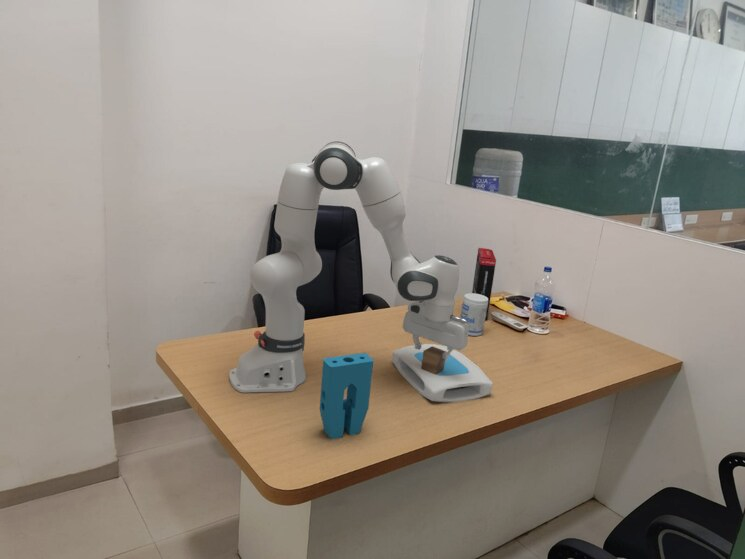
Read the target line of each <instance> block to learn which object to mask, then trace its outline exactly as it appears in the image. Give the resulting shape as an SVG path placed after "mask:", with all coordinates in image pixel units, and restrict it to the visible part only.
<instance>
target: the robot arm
mask: <svg viewBox="0 0 745 559" xmlns="http://www.w3.org/2000/svg"><path fill="white" fill-rule="evenodd" d="M356 156H357V155H356V153H355V151H354V149H353V148H352V147H351V146H350V145H348V144H347V143H345V142H342V141H331V142H329V143H327V144H326V145H324V146H323V147H321V149H319V151H318V153H317V154H316V155H315V156H314V158H313V159H312V160H311V162H309V163H308V162H295V163H292V164H291V163H290V165H288V166H287V167H286V169H285V170H284V174H283V176H282V180H281V183H280V186H279V191H278V197H277V203H276V209H275V217H274V218H275V219H274V225H273V227H274V228H273V229H274V230H275V233H276V234H278V236H279V237H280V241H281V248H280V251H279V252H276V253H272V254H269V255H266V256H264V257H263V258H261V259H259V260H258V261H256V262H255V263H254V264H253V265H252V267H251V269H250V273H249V274H250V275H249V278H250V282H251V285H252V287H253V289H254V290H255V291H256V292H258V293H259V294H260V295H261V297H262V299H263V302H264V307H265V330H264V332H263V333H261V331H260V330H256V331H254V333H253V335H254V338H255V339H256V340H257V344H256V345H254V346H253V347H251V348H250V349H249V350H247V351H246V352H244V353H243V354H242V355H241V356H240V357H239V359H238V363H237V366H236V367H234V368H231V369H230V371H229V375H228V379H229V380H228V381H229V383H230V385H231V386H232V388H233V389H234V390H236V391H238V392H240V393H246V394H247V393H274V392H275V393H276V392H277V393H278V392H279V393H280V392H281V393H282V392H293V391H295V390H296V388H297V387H298V386H300V385H301V384H303V383H304V382H305V381H306V379H307V375H306V370H305V365H304V364H305V363H304V351H305V344H306V343H305V341H306V339H305V336H306V335H305V332H304V331H305V330H304V328H305V313H306V312H305V311H306V310H305V308H304V305H302V303H300V302H299V301H298V299H297V297H298V296H297V289H298V287H301V286H304V285H306V284H309V283H310V282H312V281H313V280H314V279H315V278H317V276H318V275H320V274H321V271H322V269H323V260H322V257H321V255H320V254H319V252H318V251H317V248H316V243H315V229H316V223H317V218H318V217H317V216H318V211H319V205H320V197H321V194H322V192H323V190H324V189H328V190H332V191H333V190H334V191H340V190H355V191H356V193H357V195H358V198H359V200H360V203H361V206H362V208H363V210H364V213H365V215H366V217H367V219H368V220H369V222H370V224H371V226H372V227H373V228H374V229H375V230H377V231H378V232H379V234H380V235H381V237H382V239H383V241H384V244H385V247H386V249H387V250H386V251H387V252H388V255H389V258H390V270H389V272H390V274H389V275H390V279H391V280H392V282H393V284H394V285H395V287H396V290H397V292H398V293H399V295H400V296H401V297H402V298H403V299H405V300H406V301H408V302H409V301H410V302H411V303H409V304H408V305H407V311H406V312H405V314H404V317H403V322H402V329H403V331H404V332H405V333H408V334H411V335H412V340H413V343H414V345H415V347H414V348H415V349H418V350H419V349H421V345H422V342H421V341H420V339H419V338H422V339H425V340H427V341H431V342H434V343H435V344H436V343H437V344H438V345H442V346H447V350H449V351H448V352H444V353H443V355H442V356H443V357H442V359H445V360H448V359H449V355H450V353H451V352H452V351H453V350H456V351H458V352H461V351H462V350H465V348H466V347H467V346H468V338H469V335H468V333H469V328H470V325H469V323H468V322H467V321H466V320H465V319H463V318H460V317H459V316H456V315H454V312H455V311H454V310H455V305H456V304H455V303H456V299H455V295H456V293H457V291H458V286H459V278H460V266H459V265H458V263H457V261H455V260H454V259H452V258H451V257H449V256H444V255H440V254H439V255H433V257H432V258H430V259H428V260H426V261H423V262H420V260H419V259H418V258H417V257H416V256H414V255H413V253H412V252H411V250H410V247H409V242H408V241H407V237H406V235H405V231H404V227H403V226H404V225H403V223H404V221H405V218H406V213H407V212H406V207H405V206H406V205H405V201H404V198H403V194H402V192H401V191H402V190H401V189H400V186H399V184H398V181H397V179H396V177H395V175H394V173H393V171H392V169H391V167H390V166H389V163H387V161H386V160H385V159H383V158H382V157H378V156H371V157H368V158H365V159H362V158H358V157H356Z"/></svg>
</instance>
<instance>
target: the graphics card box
mask: <svg viewBox="0 0 745 559" xmlns="http://www.w3.org/2000/svg"><path fill="white" fill-rule="evenodd" d="M493 251H494V250H493V249H491V248H486V247H485V248H483V247H478V248H477V255H476V261H475V262H476V263H475V269H474V277H473V284H472V291H471V293H475V294H480V295H483V296H486V297H487V298H488V306H487V312H486V317H485V321H487V320H488V316H489V310H490V303H491V298H492V290H493V285H494V283H493V282H494V278H495V270H496V264H497V258H496V256H495V254H494V252H493Z"/></svg>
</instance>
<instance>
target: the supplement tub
mask: <svg viewBox="0 0 745 559" xmlns="http://www.w3.org/2000/svg"><path fill="white" fill-rule="evenodd" d="M462 300H463V301H462V305H461V311H460V317H459V318H463V319H465V320H466V321H467V322H468V323H469V325H470V328H469V333H468V336H471V337H478V336H481V335H482V334H483V332H484V327H485V321H486V320H485V317H486V312H487V306H488V298H487V297H486V296H483V295H480V294H475V293H472V292H470V293H465V294H464V296H463V299H462Z"/></svg>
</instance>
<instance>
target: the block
mask: <svg viewBox="0 0 745 559" xmlns="http://www.w3.org/2000/svg"><path fill="white" fill-rule="evenodd" d="M373 367H374V359H373V358H372V357H371V356H370V355H369V354H368V353H365V352H361V353H353V354H347V355H346V354H345V355H338V356H332V357H325V358H323V359H322V373H321V374H322V375H321V384H320V385H321V387H320V400H319V412H320V417H321V422H322V427H323V431H324V432H325V434H326V435H327V436H328V438H329V439H331V440H335V439H340V438H343V437H344V430H345V431H346V432H347V434H349V435H350V436H353V435H358V434H360V433H361V430H362V427H363V425H364V421H365V419H366V417H367V414H368V411H369V405H370V396H371V395H370V394H371V386H372V377H373ZM345 391H346V398H345Z"/></svg>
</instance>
